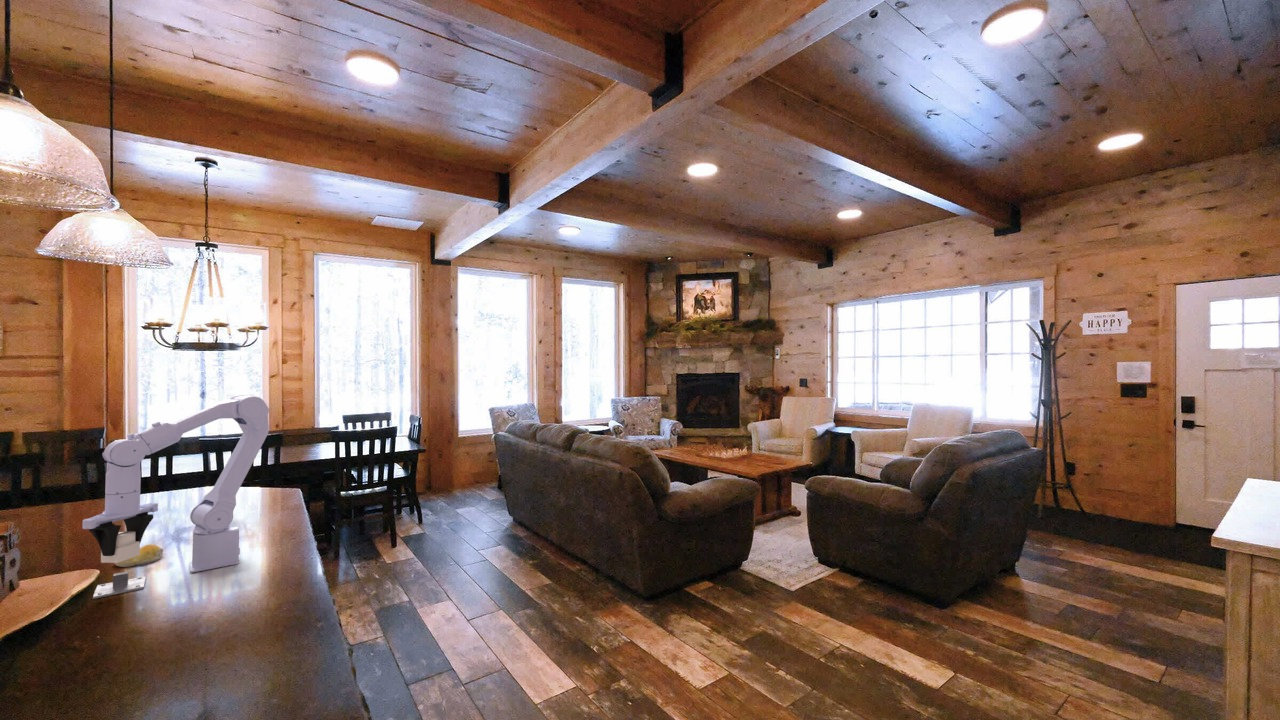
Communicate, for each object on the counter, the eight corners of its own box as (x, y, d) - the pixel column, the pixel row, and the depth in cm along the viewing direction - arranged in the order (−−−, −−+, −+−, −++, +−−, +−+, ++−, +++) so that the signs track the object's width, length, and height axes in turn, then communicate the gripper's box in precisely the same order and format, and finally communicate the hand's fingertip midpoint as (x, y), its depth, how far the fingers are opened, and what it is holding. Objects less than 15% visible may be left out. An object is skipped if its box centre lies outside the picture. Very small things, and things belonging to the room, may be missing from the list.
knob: (122, 554, 120) (122, 529, 120) (141, 555, 120) (141, 529, 120) (99, 562, 115) (99, 536, 115) (119, 562, 115) (119, 536, 115)
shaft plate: (145, 578, 123) (146, 564, 123) (143, 588, 117) (144, 574, 117) (97, 587, 118) (97, 573, 118) (92, 599, 112) (93, 583, 112)
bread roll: (120, 560, 135) (120, 545, 135) (165, 554, 139) (165, 539, 140) (108, 570, 128) (108, 554, 128) (156, 564, 132) (156, 548, 132)
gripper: (139, 484, 125) (137, 540, 125) (70, 499, 111) (68, 562, 110) (166, 485, 125) (165, 541, 124) (100, 500, 110) (98, 563, 110)
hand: (121, 551), depth 117 cm, fingers closed on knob, 5 cm apart
